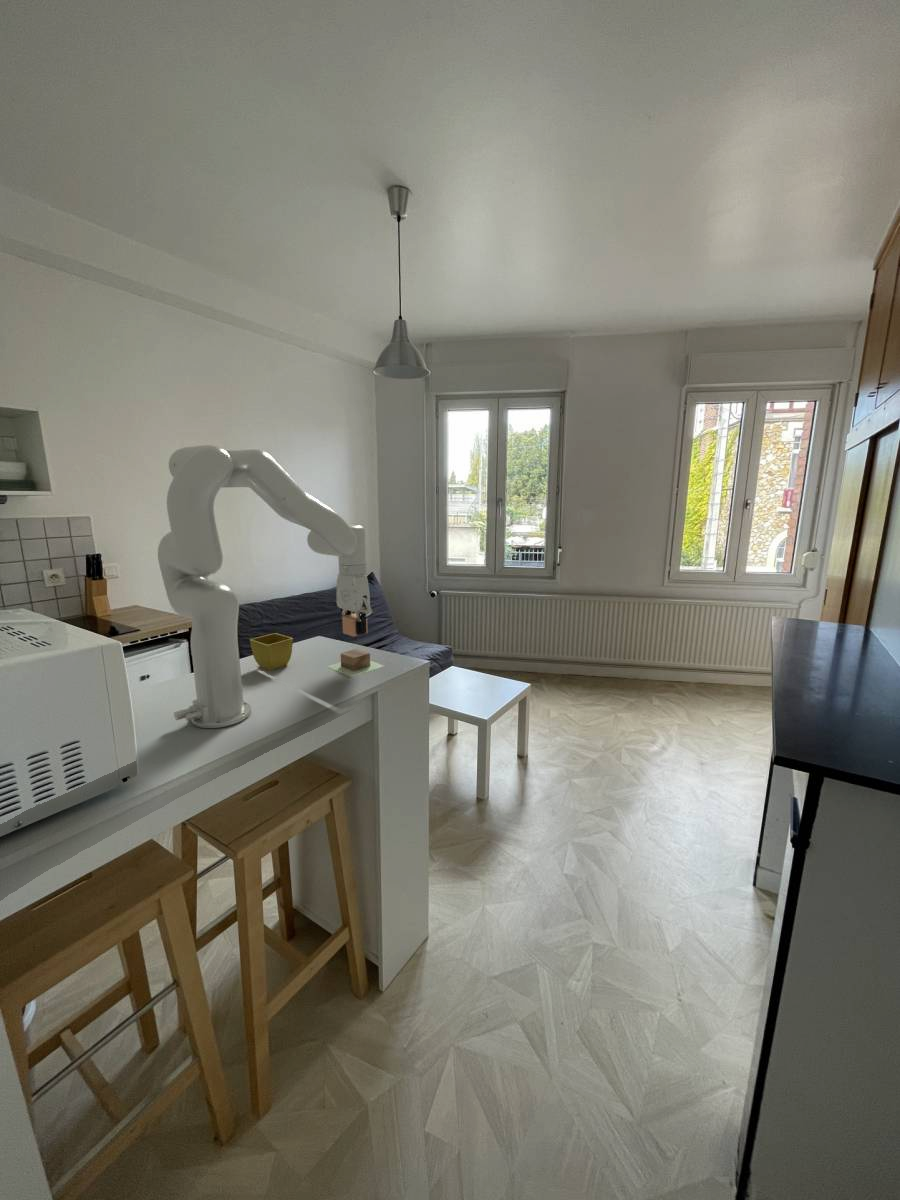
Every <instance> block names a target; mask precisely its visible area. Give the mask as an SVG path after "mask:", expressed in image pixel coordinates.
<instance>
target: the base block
mask: <svg viewBox="0 0 900 1200" xmlns="http://www.w3.org/2000/svg"><path fill="white" fill-rule="evenodd" d="M370 661H371V654H370V652H367V651H365V650H362V649H360V648H354V649H351V650H347V651H344V652H341V653H340V662H341V666H342V667H344V668H346V669H349V670H351V671H357V670H360V669H363V668H366V667H369V666H370Z"/></svg>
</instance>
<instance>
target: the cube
mask: <svg viewBox="0 0 900 1200" xmlns="http://www.w3.org/2000/svg"><path fill="white" fill-rule="evenodd" d="M361 615H362V613H360V616H361ZM341 619H342V621H341V623H342V633H343V634H344V635H348V636H350V637H353V638H354V637H358V636H359V635H357V634H356V621H357V616H356V612H354V613H352V614H350V615H346V616H342V615H341ZM368 630H369V629H368V619H367V620H366V633H365V634H368ZM361 635H363V634H361ZM361 635H360V636H361Z"/></svg>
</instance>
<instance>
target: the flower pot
mask: <svg viewBox="0 0 900 1200" xmlns="http://www.w3.org/2000/svg"><path fill="white" fill-rule="evenodd" d="M293 642H294V638H293V637H290V636H286V635H284V634H280V633H278V632H276V633H275V632H274V633H270V634H266V635H265V634H264V635H262V636H258V637H254V638H251V639H249V643H250V648H251V651H252V655H253V656H252V657H253V658H254V660H255V662H256V663H257V665H258V667H260V668H263V669H266V670H268V671H272V670H277V669H278V668H282V667H286V666H287V665H288V664H289V662H290V661H291V658H292V657H291V656H292V653H293Z"/></svg>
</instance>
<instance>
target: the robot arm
mask: <svg viewBox="0 0 900 1200" xmlns="http://www.w3.org/2000/svg"><path fill="white" fill-rule="evenodd" d="M168 470H169V473H170V475H171V476H172V480H171V482H170V485H169V487H168V490H167V496H166V510H167V515H168V521H169V527H170V531H169V532H168V533H166V534H165V535H164V536H163V537H162V538H161V540H160V541H159V544H158V547H157V560H158V565H159V569H160V573H161V574H160V575H161V577H162V581H163V585H164V588H165V592H166V596H167V599H168V600H167V601H168V602H169V604H170V606H171V608H172V609H173V610H174V611H175V612H176V613H177V614H178V615H180V616H182V617H184V618H187V619H189V620H191V624H192V626H191V632H190V652H191V653H190V655H191V658H192V660H191V661H192V666H193V667H192V668H193V675H194V676H193V678H194V685H195V686H194V687H195V695H196V699H194V700H192V702H191V703H192V705H189V706H188V708H185V709H179V710H176V711H174V712H173V717H174V719H175V721H180V720H182V719H184V720H185V721H186V722H189V721H191V723H192V725H193V726H195V727H197V728H200V729H201V728H203V729H218V728H224V727H229V726H232V725H236V724H238V723H240V722H242V721H245V720H246V719H247V718H249V717H250V715H251V713H252V706H251V704H250V703H248V702H246V701H244V696H243V695H244V694H243V686H242V685H243V683H242V682H243V681H242V672H241V662H240V661H241V660H240V650H239V642H238V641H239V639H238V638H239V637H238V623H239V611H240V603H239V600H238V597H237V595H236V593H235V592H234V591H233V589H232V588H230V587H229V586H227V585H226V584H224V583H222V582H220V581H215V580H212V579H209V576H212V575H215V574H216V573H217V572H219V570H220V569H221V568H222V565H223V560H224V557H223V549H222V547H221V542H220V538H219V537H220V536H219V533H218V527H217V523H216V517H215V510H214V507H215V505H214V504H215V501H216V500H215V499H216V497H217V495H218V492H219V491H220V490H221V488H225V489H226V488H249V489H250V490H252V491H253V492H254V493H255V494H256V495H257V496H258V497H259V498H261V499H262V500H263V502H265V504H267V505H268V506H269V507H270V508H271V509H272V510H273V511H274V512H275V513H276V514H277V515H278V516H280V517H281V518H283V519H284V520H286V521H288V522H290V523H293V524H296V525H298V526H301V527H304V528H305V529H308V530H310V531H309V532H308V535H307V538H306V539H307V541H306V542H307V545H308V546H309V548H310V549H311V551H313V552H315V553H316V554H321V555H326V556H327V555H328V556H334V557H338V558H337V559H338V574H337V578H336V606H337V607H338V608H339V609H340V612H341V617H342V616H346V615H350V614H353V613H356V616H357V621H356V634H357V635H358V636H361V634H362V635H365V634H367V633H366V620H367V621H368V617H369V616H370V615H371V614H372V613H373V608H372V607H371V594H370V586H369V580H368V576H367V555H366V554H367V550H366V531H365V528H364V527H363V526H362V525H357V524H348V522H346V521H345V519H343V518H342V517H341V516H340V515H339V514H338V513H337V512H336V511H335V510H334V509H332V508H331V507H329V506H328V505H326V504H324V503H322V502H321V501H320V500H318V499H317V498H315V497H314V496H312V495H311V494H309V493H308V492H306V491H305V490H304V489H303V488H302V487H301V485H300V484H298V483H297V482H296V481H295V479H293V478H292V476H291V475H290V474H289V473H288V472H287V471H286V470H285V469H284V468H283V467H282V466H281V465H280V464H279V463H278V462H277V461H276V460H275V458H274V457H273V456H272V455H270V454H269V453H268V452H266V451H264V450H262V449H258V448H257V449H254V448H253V449H239V450H225V449H224V448H222V447H220V446H216V445H210V444H209V445H207V444H206V445H195V446H185V447H181V448H179V449H176V450H175V451H174V452H173V453H172V454H171V455H170V457H169V460H168ZM360 614H361V616H360Z"/></svg>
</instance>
